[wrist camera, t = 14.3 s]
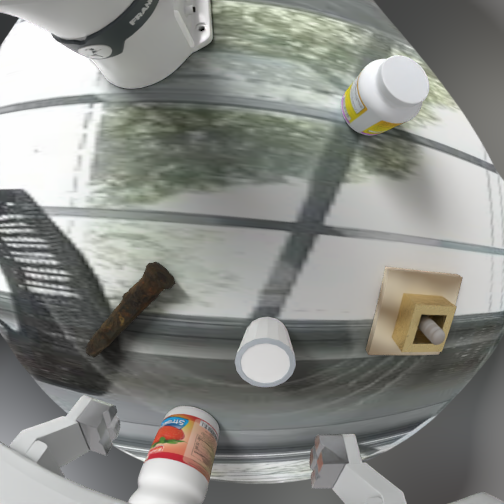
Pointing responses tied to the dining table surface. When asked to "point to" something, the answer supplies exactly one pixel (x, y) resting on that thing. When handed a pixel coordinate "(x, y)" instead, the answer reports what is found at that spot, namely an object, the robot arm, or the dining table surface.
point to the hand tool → (131, 306)
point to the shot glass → (265, 353)
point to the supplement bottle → (385, 95)
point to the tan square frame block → (410, 317)
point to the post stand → (390, 302)
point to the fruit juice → (179, 459)
